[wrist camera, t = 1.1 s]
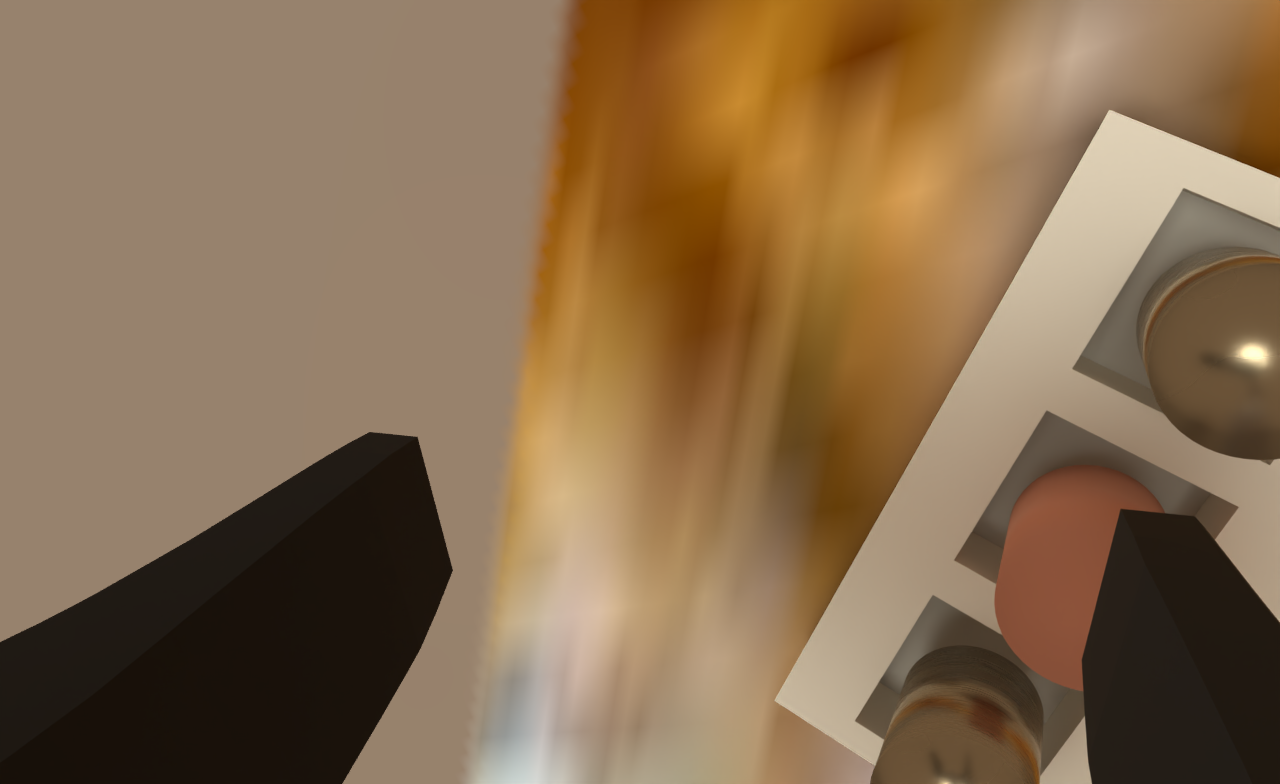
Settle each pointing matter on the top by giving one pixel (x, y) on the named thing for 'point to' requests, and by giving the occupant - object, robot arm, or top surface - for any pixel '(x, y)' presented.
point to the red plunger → (1060, 564)
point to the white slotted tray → (1049, 438)
